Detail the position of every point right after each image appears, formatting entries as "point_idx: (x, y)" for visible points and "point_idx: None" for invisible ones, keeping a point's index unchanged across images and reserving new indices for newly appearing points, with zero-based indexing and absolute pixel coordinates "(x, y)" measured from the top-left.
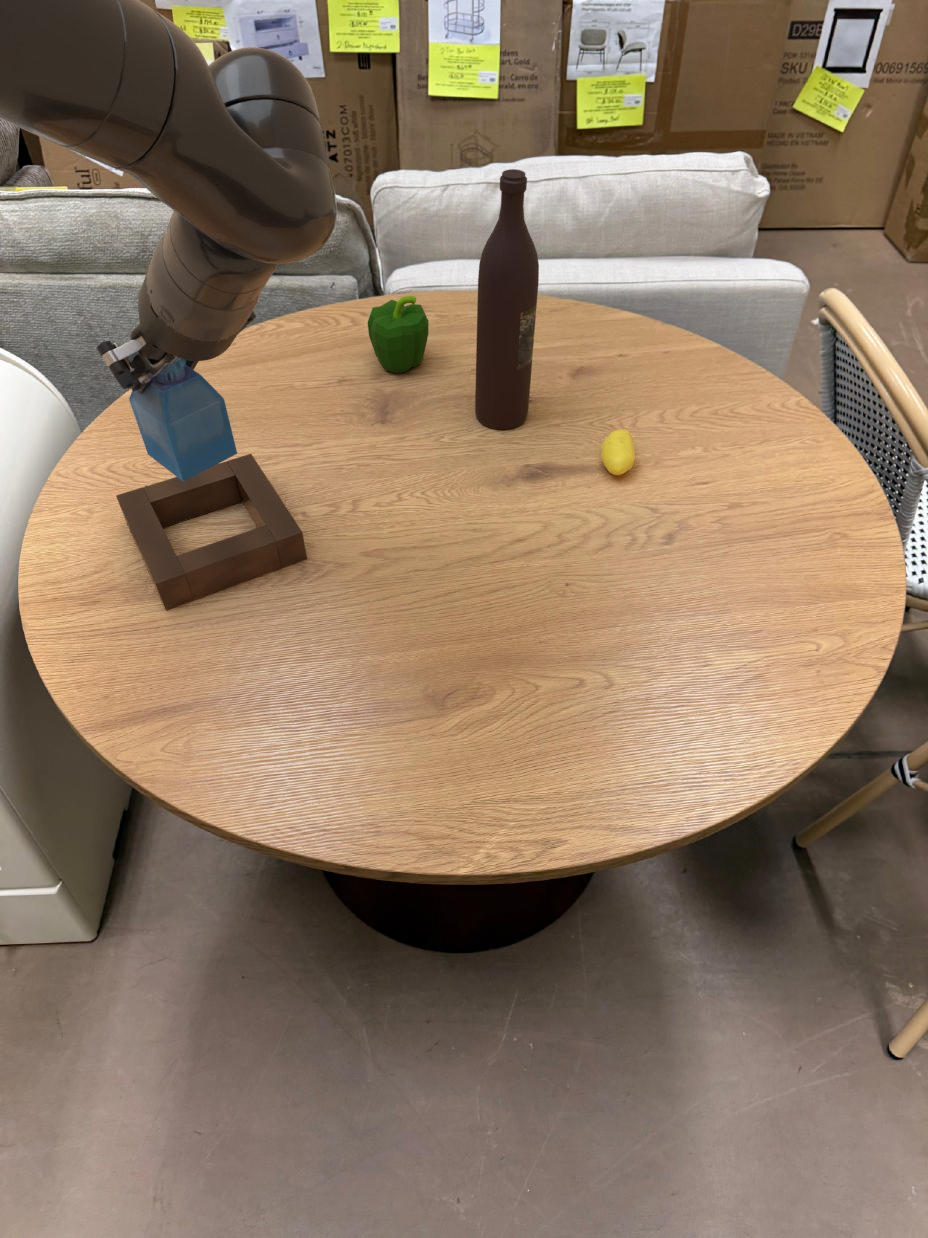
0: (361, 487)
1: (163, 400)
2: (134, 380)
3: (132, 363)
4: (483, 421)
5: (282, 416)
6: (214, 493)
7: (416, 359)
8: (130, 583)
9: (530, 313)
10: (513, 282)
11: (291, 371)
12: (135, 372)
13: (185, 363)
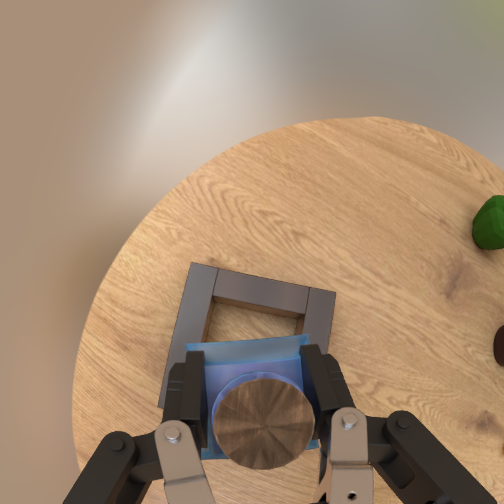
0: (393, 369)
1: (209, 455)
2: (144, 494)
3: (158, 467)
4: (496, 350)
5: (386, 229)
6: (276, 311)
7: (494, 249)
8: (158, 349)
9: None
10: None
11: (414, 181)
12: (156, 478)
13: (304, 394)
